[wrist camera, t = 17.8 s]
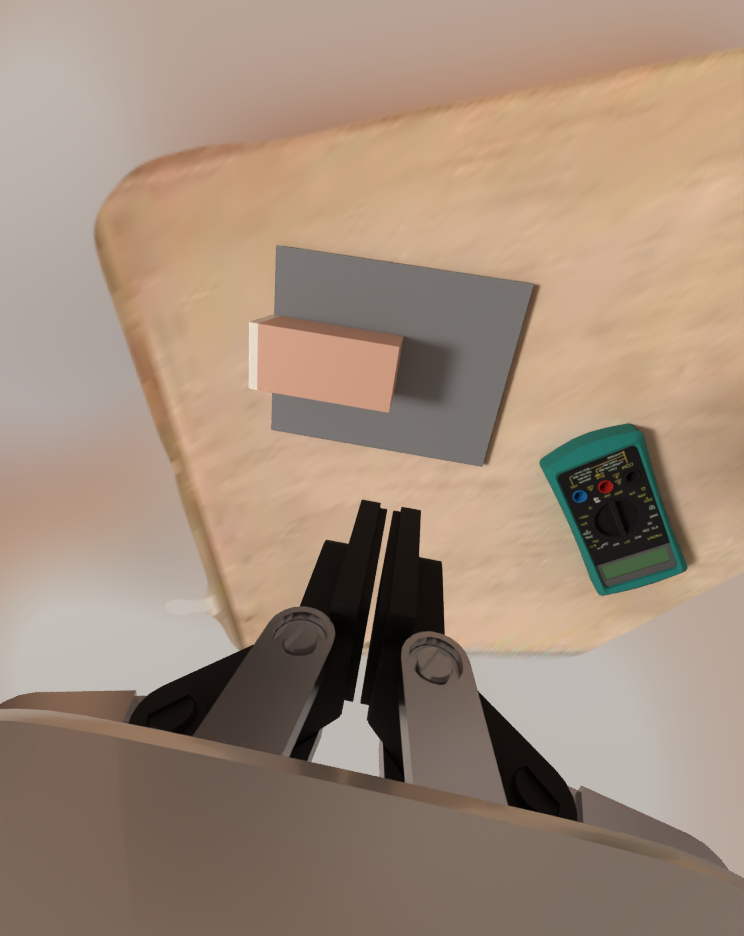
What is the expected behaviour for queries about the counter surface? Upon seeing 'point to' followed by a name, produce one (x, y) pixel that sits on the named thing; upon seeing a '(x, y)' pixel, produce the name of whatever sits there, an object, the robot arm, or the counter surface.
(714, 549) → the counter surface
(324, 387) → the block
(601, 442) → the digital multimeter
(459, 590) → the counter surface
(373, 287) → the mat
